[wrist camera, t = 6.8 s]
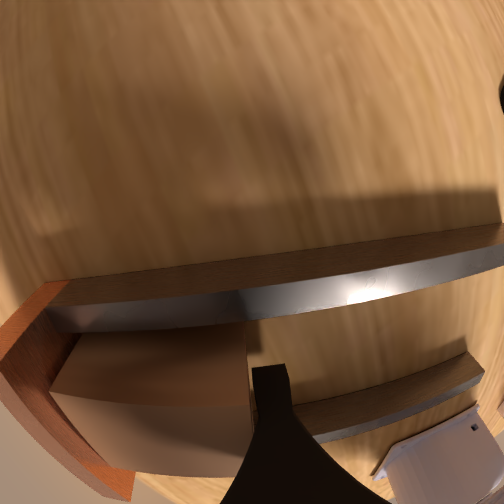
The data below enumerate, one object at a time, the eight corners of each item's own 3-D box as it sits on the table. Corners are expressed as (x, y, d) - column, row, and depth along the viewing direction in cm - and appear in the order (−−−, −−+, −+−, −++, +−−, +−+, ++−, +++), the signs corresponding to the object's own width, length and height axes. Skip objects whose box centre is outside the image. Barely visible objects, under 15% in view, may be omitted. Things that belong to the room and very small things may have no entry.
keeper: (242, 314, 10) (249, 404, 6) (251, 401, 12) (258, 475, 8) (92, 319, 10) (48, 391, 6) (129, 400, 11) (110, 466, 8)
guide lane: (502, 222, 9) (576, 262, 5) (463, 363, 13) (503, 415, 8) (44, 282, 9) (-28, 360, 4) (121, 423, 12) (103, 496, 8)
